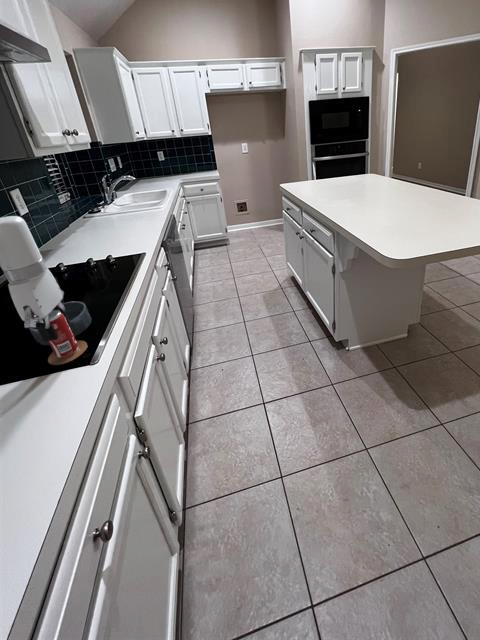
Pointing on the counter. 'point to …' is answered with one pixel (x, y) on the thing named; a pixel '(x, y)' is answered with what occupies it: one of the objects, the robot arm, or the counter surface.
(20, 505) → the counter surface
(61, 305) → the robot arm
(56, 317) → the soda can
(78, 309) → the bowl
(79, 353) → the coaster
